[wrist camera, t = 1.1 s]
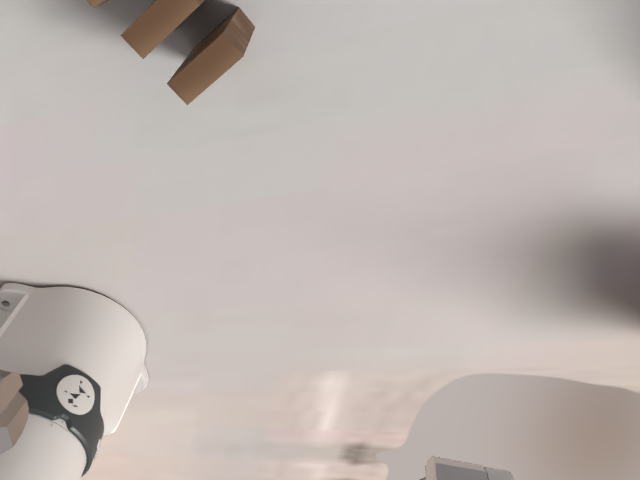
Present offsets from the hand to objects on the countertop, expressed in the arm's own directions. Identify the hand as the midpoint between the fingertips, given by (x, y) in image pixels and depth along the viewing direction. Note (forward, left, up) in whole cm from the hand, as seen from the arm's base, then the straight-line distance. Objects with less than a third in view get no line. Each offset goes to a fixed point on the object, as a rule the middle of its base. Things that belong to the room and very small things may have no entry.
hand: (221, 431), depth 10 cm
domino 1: (-4, +6, -37) cm, 37 cm away
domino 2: (-4, +3, -36) cm, 37 cm away
